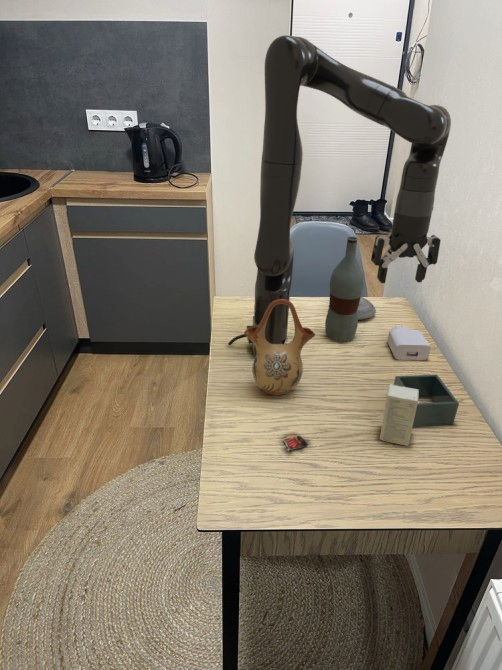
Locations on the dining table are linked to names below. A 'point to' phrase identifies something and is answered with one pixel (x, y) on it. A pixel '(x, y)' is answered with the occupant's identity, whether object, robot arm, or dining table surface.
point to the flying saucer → (365, 309)
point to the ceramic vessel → (278, 355)
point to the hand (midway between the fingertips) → (400, 281)
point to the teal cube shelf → (443, 398)
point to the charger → (408, 344)
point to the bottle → (344, 296)
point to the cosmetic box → (399, 414)
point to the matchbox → (294, 442)
